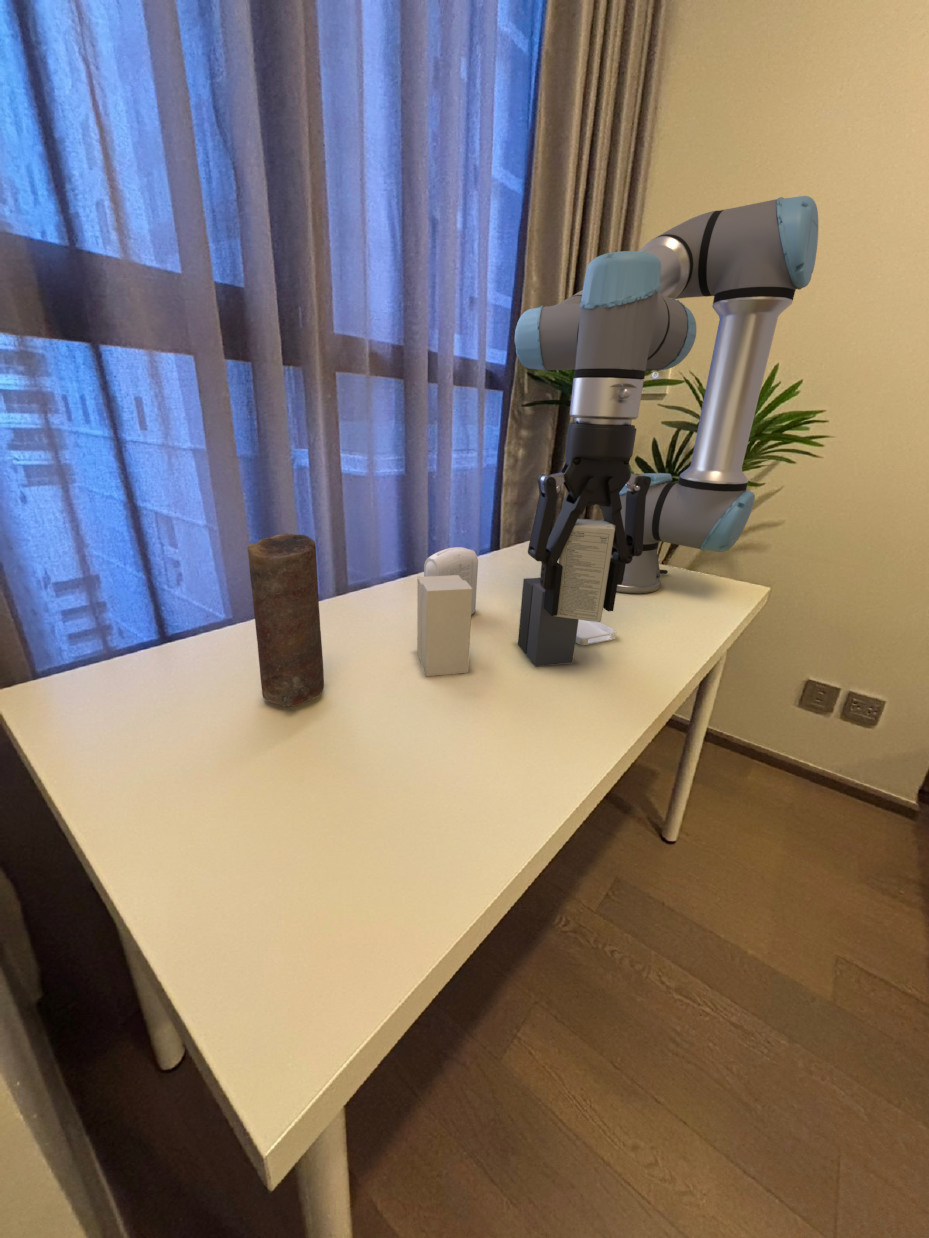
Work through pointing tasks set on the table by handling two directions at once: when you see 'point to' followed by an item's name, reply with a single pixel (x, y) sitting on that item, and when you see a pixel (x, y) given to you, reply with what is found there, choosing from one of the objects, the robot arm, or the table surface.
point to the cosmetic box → (585, 570)
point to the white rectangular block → (443, 624)
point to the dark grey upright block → (544, 629)
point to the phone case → (593, 632)
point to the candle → (287, 618)
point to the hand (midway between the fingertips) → (578, 609)
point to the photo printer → (455, 567)
